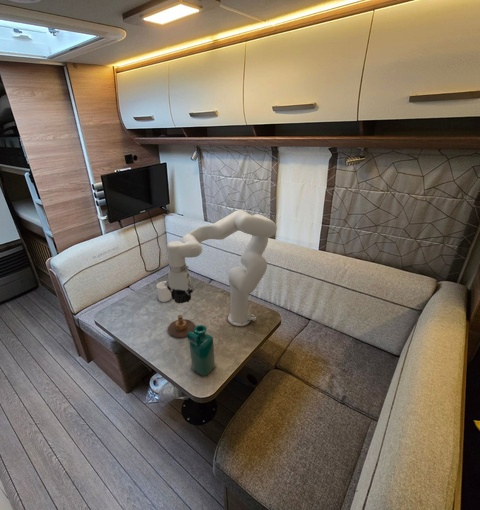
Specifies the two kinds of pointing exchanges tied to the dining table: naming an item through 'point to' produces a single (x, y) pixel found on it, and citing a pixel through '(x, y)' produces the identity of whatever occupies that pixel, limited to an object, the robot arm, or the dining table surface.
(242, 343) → the dining table surface
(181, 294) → the tape roll
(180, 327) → the stand
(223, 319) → the dining table surface
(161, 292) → the mug
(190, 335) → the green bottle
